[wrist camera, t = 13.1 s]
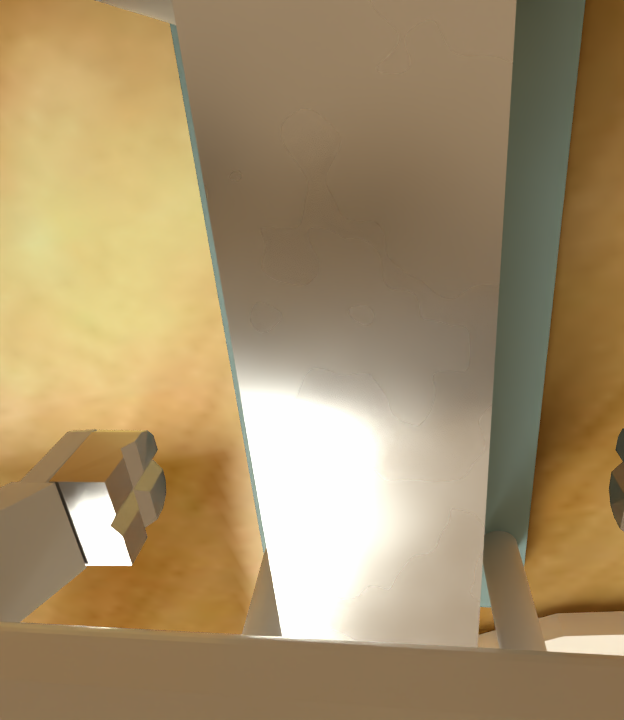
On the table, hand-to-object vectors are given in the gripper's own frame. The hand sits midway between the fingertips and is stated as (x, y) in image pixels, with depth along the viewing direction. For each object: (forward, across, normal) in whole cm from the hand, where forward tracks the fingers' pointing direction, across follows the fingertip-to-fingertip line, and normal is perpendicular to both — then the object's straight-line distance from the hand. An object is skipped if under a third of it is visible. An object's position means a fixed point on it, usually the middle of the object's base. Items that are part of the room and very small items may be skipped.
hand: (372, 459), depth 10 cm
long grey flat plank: (+3, 0, 0) cm, 3 cm away
